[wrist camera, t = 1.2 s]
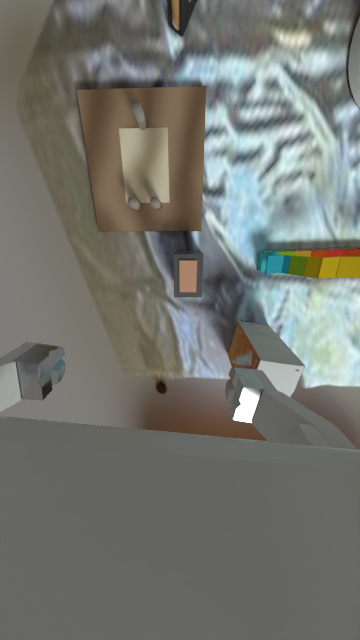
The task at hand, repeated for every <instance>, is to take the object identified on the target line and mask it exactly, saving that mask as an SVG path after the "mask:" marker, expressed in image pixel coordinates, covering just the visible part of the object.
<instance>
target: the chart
mask: <svg viewBox="0 0 360 640" xmlns="http://www.w3.org/2000/svg"><path fill="white" fill-rule="evenodd" d="M289 250H290V249H286V250H280V251H275V250H262V252H259V259H258V267H257V270H259V271H265V274H271V273H286V274H293V275H299V276H305V277H311V278H318V279H319V278H333V277H340V278H360V248H356V247H345V248H341V249H339V248H327V249H323V248H315V249H311V250H307V249H295V250H292V251H289Z"/></svg>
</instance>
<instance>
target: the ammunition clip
mask: <svg viewBox="0 0 360 640" xmlns="http://www.w3.org/2000/svg"><path fill="white" fill-rule="evenodd" d="M196 1H197V0H167V2H168V18H169V27H171V28H172V29H173V30H174V31H175V32H176V33H178V34H179V35H180V36H181V37H182V36H183V34H184V32H185V29H186V27H187V24H188V22H189V19H190V17H191V14H192V12H193V9H194V7H195V4H196Z"/></svg>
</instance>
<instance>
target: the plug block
mask: <svg viewBox="0 0 360 640" xmlns="http://www.w3.org/2000/svg"><path fill="white" fill-rule="evenodd" d="M173 256H174V297H201V296H202V271H203V254H202V252H201V251H175V253H174V254H173Z"/></svg>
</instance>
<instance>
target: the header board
mask: <svg viewBox="0 0 360 640" xmlns="http://www.w3.org/2000/svg"><path fill="white" fill-rule="evenodd" d="M77 95H78V102H79V108H80V115H81V121H82V127H83V134H84V140H85V147H86V153H87V159H88V166H89V172H90V179H91V185H92V192H93V198H94V204H95V211H96V217H97V224H98V230H99V231H100V232H120V231H201V221H202V191H203V162H204V132H205V103H206V86H189V87H154V88H120V89H86V90H77Z"/></svg>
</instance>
